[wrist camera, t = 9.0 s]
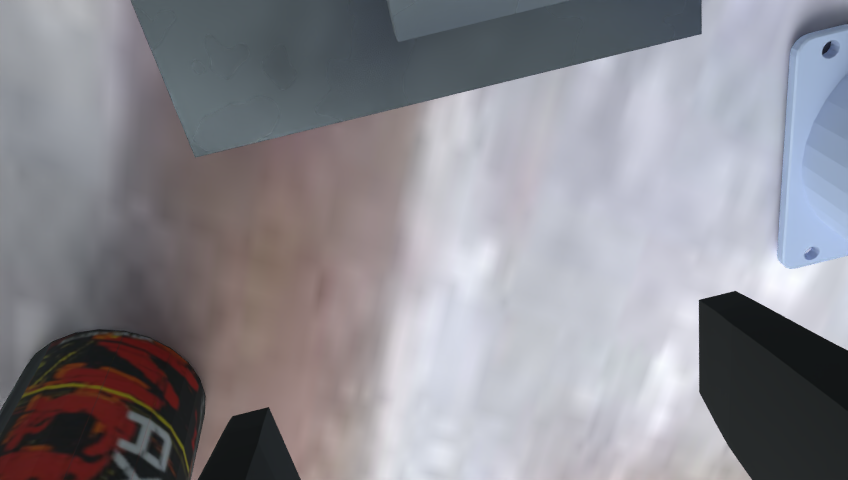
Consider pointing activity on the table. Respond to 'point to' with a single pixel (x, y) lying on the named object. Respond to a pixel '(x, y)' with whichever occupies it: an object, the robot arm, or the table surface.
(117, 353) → the deodorant
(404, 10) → the column
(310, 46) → the base plate with holder
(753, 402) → the robot arm
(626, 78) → the table surface
